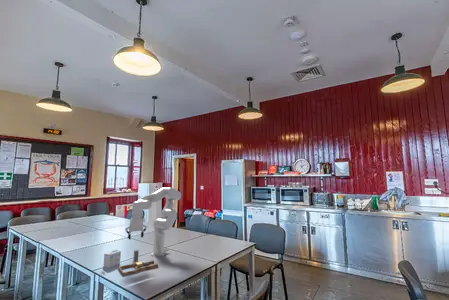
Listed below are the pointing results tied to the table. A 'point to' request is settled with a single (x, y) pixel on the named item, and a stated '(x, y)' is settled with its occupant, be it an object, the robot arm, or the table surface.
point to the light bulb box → (112, 258)
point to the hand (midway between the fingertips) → (135, 238)
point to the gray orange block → (135, 256)
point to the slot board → (139, 269)
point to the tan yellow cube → (138, 265)
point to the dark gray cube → (145, 263)
